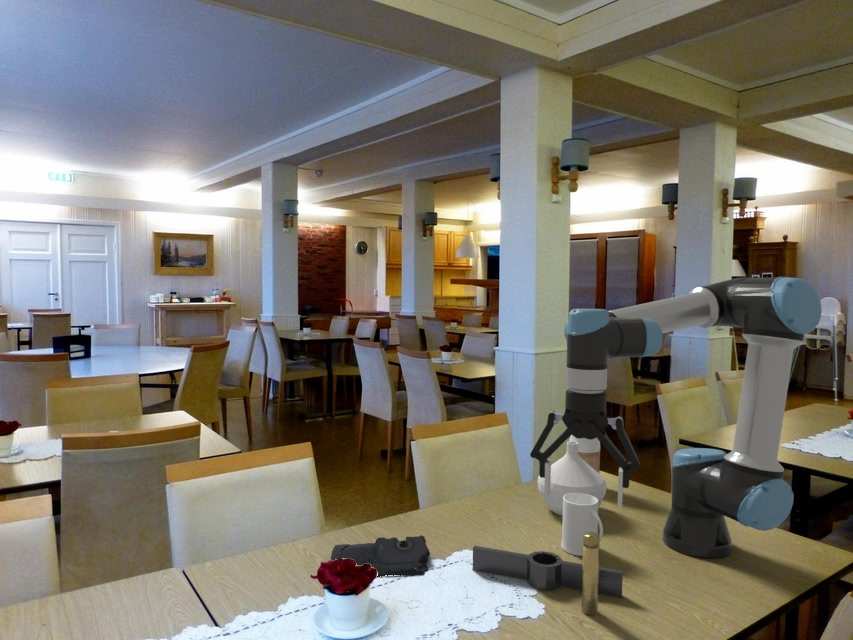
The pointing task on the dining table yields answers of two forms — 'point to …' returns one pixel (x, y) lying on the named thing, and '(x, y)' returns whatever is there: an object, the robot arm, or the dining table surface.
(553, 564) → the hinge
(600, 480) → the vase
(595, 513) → the mug
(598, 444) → the fruit juice
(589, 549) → the pin
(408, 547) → the dark slate chunk
